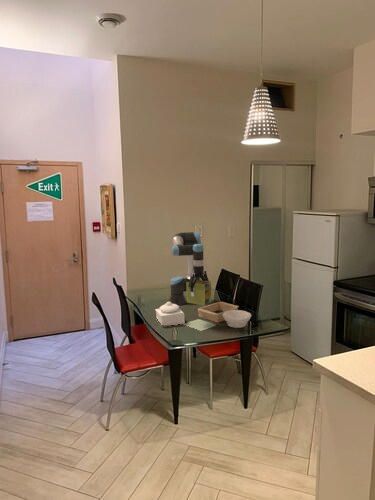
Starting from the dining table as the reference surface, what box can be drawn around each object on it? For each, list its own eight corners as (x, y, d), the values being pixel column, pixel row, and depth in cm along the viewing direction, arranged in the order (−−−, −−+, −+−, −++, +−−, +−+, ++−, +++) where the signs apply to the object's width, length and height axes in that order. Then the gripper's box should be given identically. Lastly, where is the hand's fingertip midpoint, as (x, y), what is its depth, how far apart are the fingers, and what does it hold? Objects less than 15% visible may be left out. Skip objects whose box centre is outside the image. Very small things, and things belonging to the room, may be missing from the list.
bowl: (231, 318, 292) (231, 308, 291) (256, 323, 280) (256, 313, 279) (217, 326, 275) (217, 316, 274) (243, 332, 263) (243, 321, 262)
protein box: (205, 305, 268) (204, 284, 266) (186, 302, 276) (186, 282, 273) (211, 301, 277) (211, 281, 274) (193, 298, 285) (193, 279, 282)
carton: (196, 317, 297) (196, 309, 296) (220, 308, 316) (220, 301, 315) (215, 323, 282) (215, 315, 281) (239, 314, 301) (239, 306, 300)
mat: (183, 324, 281) (183, 324, 281) (198, 319, 291) (198, 318, 291) (200, 331, 267) (200, 330, 267) (216, 325, 278) (216, 324, 278)
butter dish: (184, 323, 281) (183, 303, 279) (161, 327, 276) (160, 307, 273) (177, 316, 298) (176, 297, 295) (155, 320, 292) (154, 300, 290)
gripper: (189, 268, 261) (190, 298, 265) (213, 263, 277) (213, 292, 281) (182, 267, 266) (183, 296, 270) (206, 262, 283) (206, 290, 286)
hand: (199, 294), depth 275 cm, fingers closed on protein box, 12 cm apart
